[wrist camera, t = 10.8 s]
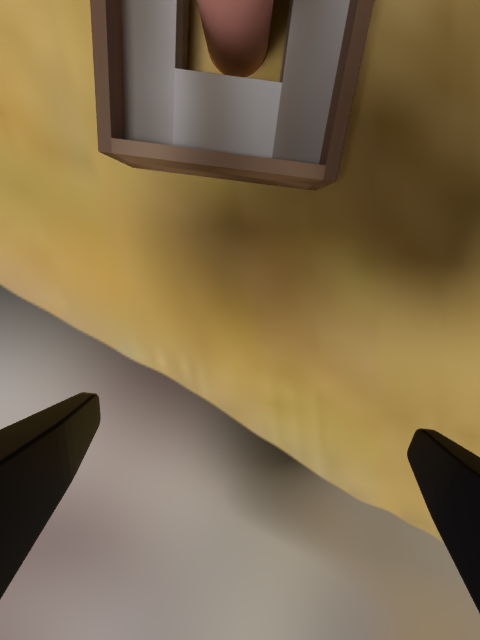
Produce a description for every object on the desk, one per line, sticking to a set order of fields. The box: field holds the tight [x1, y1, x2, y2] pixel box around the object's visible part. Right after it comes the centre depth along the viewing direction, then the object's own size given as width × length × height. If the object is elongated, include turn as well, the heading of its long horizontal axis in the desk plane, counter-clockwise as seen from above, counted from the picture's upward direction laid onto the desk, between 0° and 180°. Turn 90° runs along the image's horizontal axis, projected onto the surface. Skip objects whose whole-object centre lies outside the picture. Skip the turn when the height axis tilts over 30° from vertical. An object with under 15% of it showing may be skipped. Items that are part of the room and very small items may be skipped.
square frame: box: [90, 0, 374, 190], centre depth 12 cm, size 11×13×4 cm
